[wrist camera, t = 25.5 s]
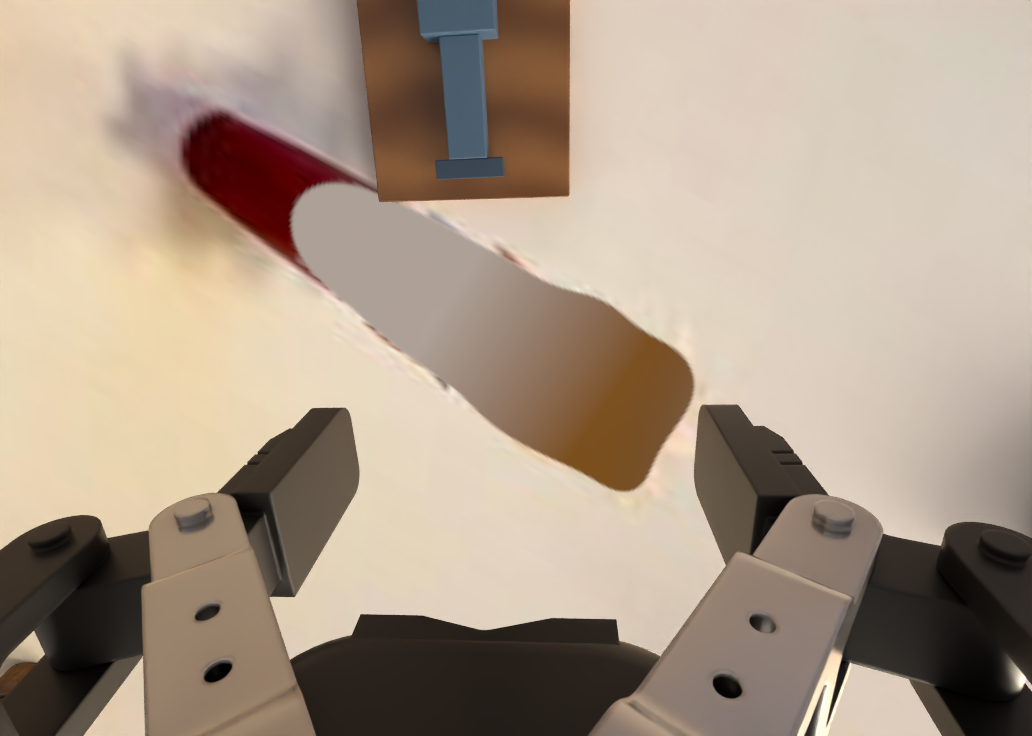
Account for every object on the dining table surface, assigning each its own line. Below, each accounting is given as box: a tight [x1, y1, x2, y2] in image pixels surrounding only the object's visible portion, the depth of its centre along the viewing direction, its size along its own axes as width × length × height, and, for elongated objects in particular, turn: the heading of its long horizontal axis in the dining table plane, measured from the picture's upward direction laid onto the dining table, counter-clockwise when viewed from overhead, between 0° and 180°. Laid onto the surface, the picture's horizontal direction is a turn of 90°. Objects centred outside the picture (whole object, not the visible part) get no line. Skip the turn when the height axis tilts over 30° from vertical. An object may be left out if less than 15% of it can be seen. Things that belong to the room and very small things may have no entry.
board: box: [357, 0, 570, 202], centre depth 35 cm, size 21×13×2 cm, turn 2°
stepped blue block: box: [417, 0, 505, 180], centre depth 33 cm, size 18×4×3 cm, turn 3°
